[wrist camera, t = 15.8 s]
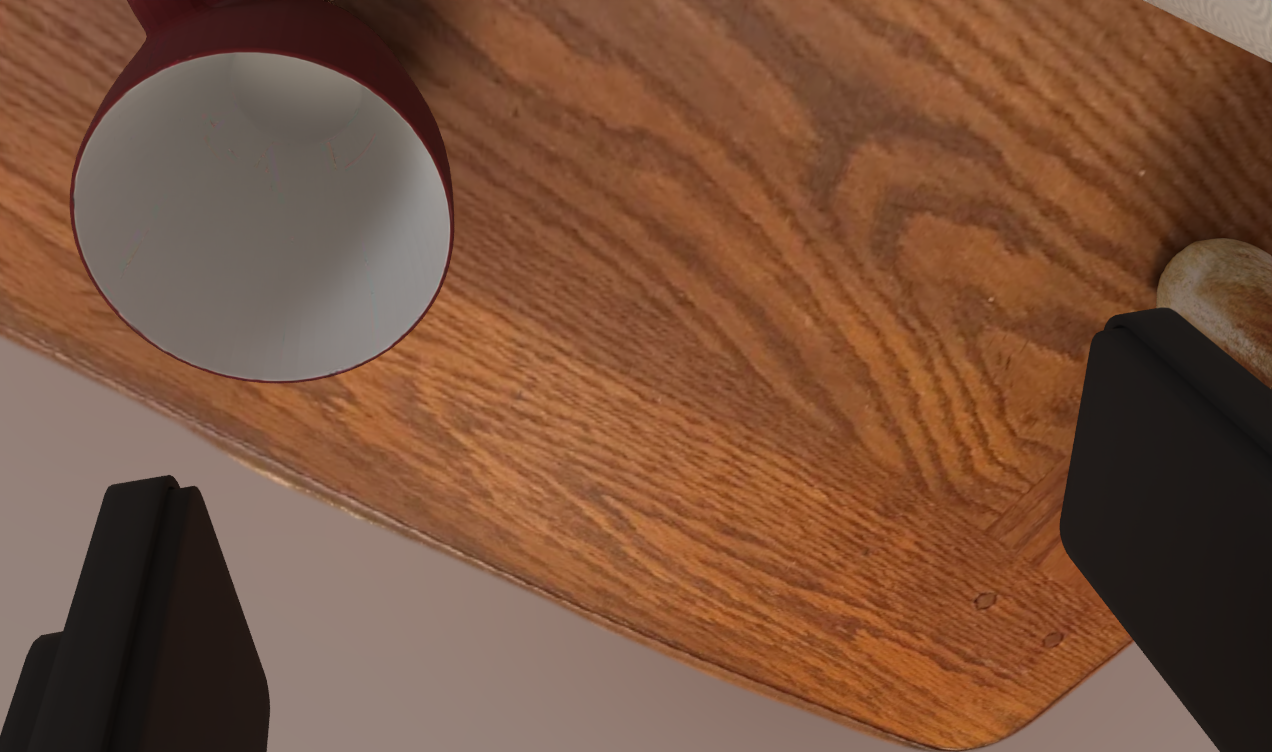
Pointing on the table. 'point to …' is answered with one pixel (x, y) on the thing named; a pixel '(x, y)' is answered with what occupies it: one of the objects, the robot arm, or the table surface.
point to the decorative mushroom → (1225, 298)
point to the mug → (264, 190)
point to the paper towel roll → (1228, 20)
